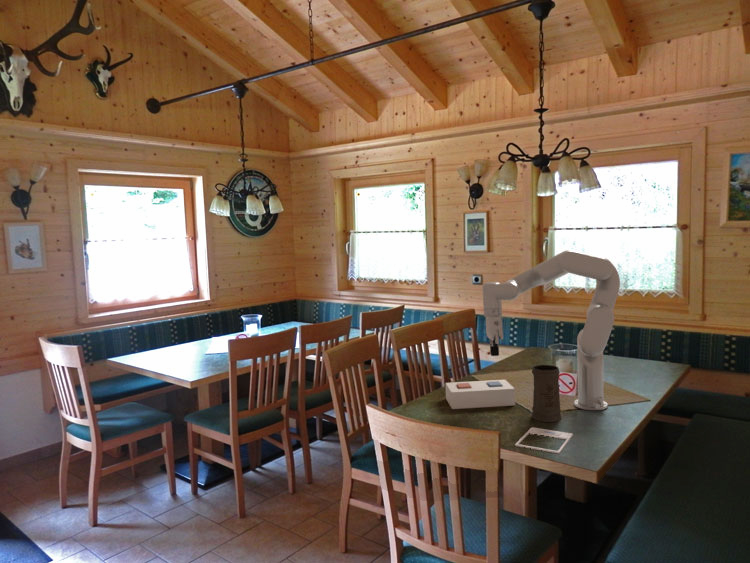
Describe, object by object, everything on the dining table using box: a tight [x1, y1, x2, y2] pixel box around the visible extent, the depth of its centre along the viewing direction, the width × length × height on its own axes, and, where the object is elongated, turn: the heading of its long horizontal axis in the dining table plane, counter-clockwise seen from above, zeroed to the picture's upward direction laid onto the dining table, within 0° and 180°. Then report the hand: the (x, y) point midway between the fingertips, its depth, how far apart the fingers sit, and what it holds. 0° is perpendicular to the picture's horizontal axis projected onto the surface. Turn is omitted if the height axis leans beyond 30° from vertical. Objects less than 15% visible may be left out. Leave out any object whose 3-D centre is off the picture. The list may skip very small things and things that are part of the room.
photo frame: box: [514, 426, 574, 455], centre depth 193 cm, size 15×1×18 cm
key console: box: [445, 379, 516, 410], centre depth 237 cm, size 14×26×7 cm, turn 93°
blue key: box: [487, 381, 502, 387], centre depth 237 cm, size 5×5×4 cm
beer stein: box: [531, 364, 562, 423], centre depth 216 cm, size 15×11×20 cm
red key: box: [457, 383, 471, 389], centre depth 236 cm, size 5×5×4 cm
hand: (494, 355), depth 235 cm, fingers closed
